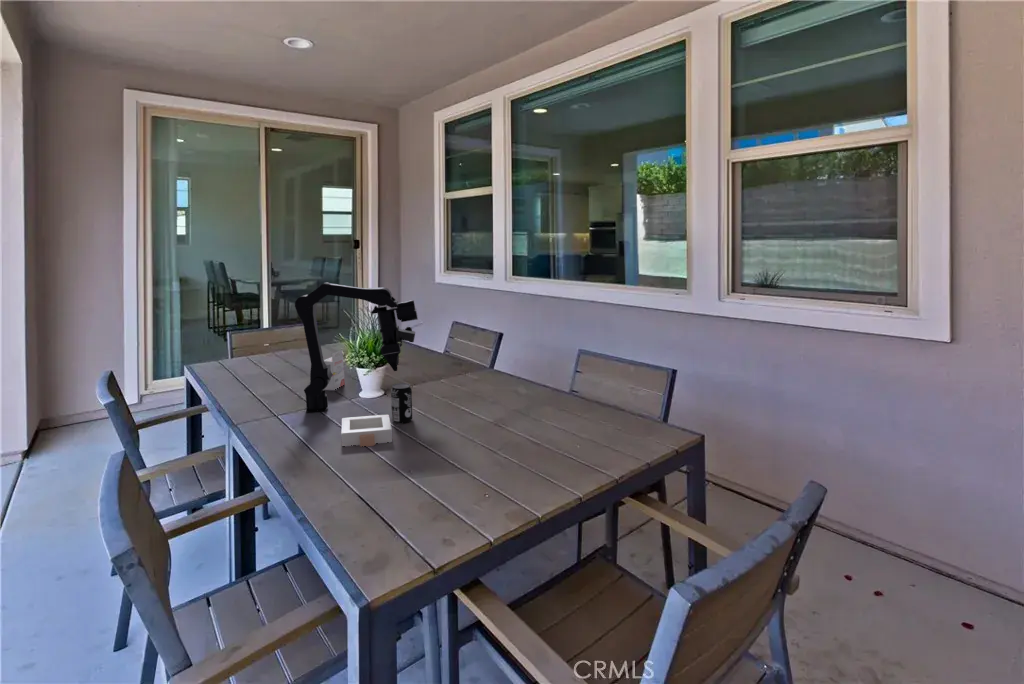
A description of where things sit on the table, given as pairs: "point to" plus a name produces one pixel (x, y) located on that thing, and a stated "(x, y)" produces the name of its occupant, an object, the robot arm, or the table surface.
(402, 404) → the beverage can
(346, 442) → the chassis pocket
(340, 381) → the ink cartridge box
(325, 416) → the table surface
